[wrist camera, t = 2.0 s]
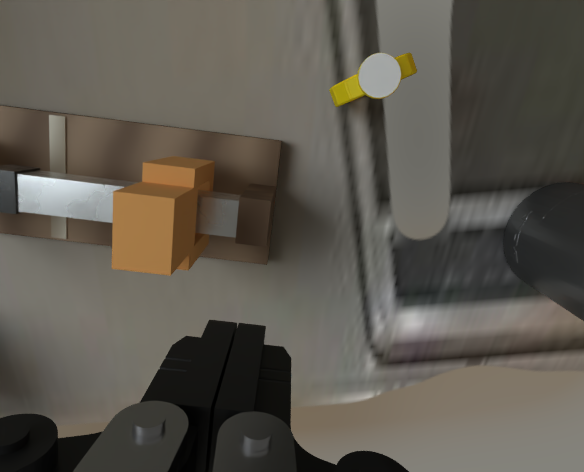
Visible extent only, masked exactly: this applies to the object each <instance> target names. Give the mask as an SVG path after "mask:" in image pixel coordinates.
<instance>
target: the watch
mask: <svg viewBox="0 0 584 472" xmlns="http://www.w3.org/2000/svg"><path fill="white" fill-rule="evenodd" d="M416 72H417V69H416V66H415V63H414V60H413V57H412V54H411V53H407V54H403V55H401V56H398V57H396V58H394V57H393V56H391V55H389V54H386V53H376V54H373V55H371V56H369V57H368V58H366V59H365V61H364V62H363V63H362V64H361V66H360V68H359V70H358V74H356V75H354V76H352V77H350V78H348V79H346V80H344V81H342V82H340V83H338V84H336V85H334V86H333V87H331V88H330V90H329V91H330V93H331V96H332V99H333V101H334V104H335V106H336V107H338V106H341V105H343V104H346V103H348V102H351V101H353V100H355V99H358V98H360V97H362V96H365V95H366V96H368V97H370V98H372V99H382V98H385V97H388V96H389V95H391V94H392V93H394V91H395V90H396V89H397V88H398V86H399V84H400V81H401V80H402V79H404V78H406V77H408V76H411V75H413V74H415V73H416Z"/></svg>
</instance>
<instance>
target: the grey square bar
mask: <svg viewBox="0 0 584 472" xmlns="http://www.w3.org/2000/svg"><path fill="white" fill-rule="evenodd" d="M136 183H138V182H130V181H122V180H114V179H106V178H98V177H89V176H81V175H73V174H65V173H57V172H49V171H40V168H37V167H29V166H20V165H12V164H9V165H0V212H2V213H10V214H18V213H22V212H26V213H35V214H43V215H51V216H60V217H68V218H76V219H85V220H93V221H101V222H110V223H113V191H115V190H118V189H121V188H124V187H127V186H130V185H133V184H136ZM240 196H241V195H236V194H228V193H220V192H212V191H204V190H198V199H197V214H196V228H195V233H201V234H210V235H218V236H226V237H235V238H236V228H237V217H238V206H239V197H240Z"/></svg>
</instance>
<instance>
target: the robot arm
mask: <svg viewBox="0 0 584 472" xmlns="http://www.w3.org/2000/svg"><path fill="white" fill-rule="evenodd" d="M503 245H504V254H505V257H506V260H507V263H508V265H509V266H510V268H511V270H512V271H513V272H514V273H515V274H516V275H517V276H518V277H519V278H520V279H521V280H523V281H524V282H526V283H527V284H529V285H530V286H532V287H533V288H535V289H536V290H538V291H539V292H541V293H542V294H544V295H545V296H547V297H548V298H550V299H551V300H553V301H554V302H556V303H557V304H559V305H560V306H562V307H563V308H565V309H566V310H568V311H569V312H571V313H572V314H574V315H575V316H577V317H578V318H580V319H581V320H583V321H584V184H577V183H570V182H567V183H556V184H553V185H549V186H546V187H543V188H541V189H539V190H537V191H535V192H533V193H532V194H531V195H530V196H528V197H527V198H526V199H524V200H523V201H522V202H521V203H520V205H519V206H518V207H517V208H516V209H515V210H514V212H513V214H512V215H511V217H510V219H509V221H508V224H507V226H506V229H505V233H504V240H503ZM265 329H266V326H261V325H252V324H244V323H239V324H238V328H237V323H234V322H225V321H217V320H209V321H208V324H207V326H206V328H205V330H204V332H203V335H202V337H201V338H200V337H191V336H185V337H184V338H182V339H181V340H179V341H178V342H176V343H175V344H173V345H172V347H171V348H170V350H169V352H168V354H167V356H166V358H165V359H164V361H163V363H162V364H161V366H160V370H158V371H157V373H156V375H155V377H154V379H153V380H152V382H151V384H150V386H149V387H148V389H147V391H146V393H145V394H144V396H143V398H142V400H141V402H140V403H137V404H134V405H131V406H129V407H127V408H125V409H123V410H122V411H120V412H119V413H118V414H116V415H115V417H114V418H113V419H112V420H111V421H110V423H109V424H108V425H107V427H106V428H105V429H104V431H103V432H99V433H95V434H89V435H82V436H74V437H66V438H58V430H57V426H56V424H55V423H54V422H53V421H52V420H51V419H49V418H47V417H45V416H42V415H38V414H17V415H11V416H7V417H3V418H0V472H409V471H408V470H406V469H405V468H404V467H403V466H402V465H400V464H399V463H397V462H396V461H395V460H393V459H391V458H389V457H387V456H385V455H383V454H379V453H376V452H371V451H356V452H352V453H349V454H347V455H345V456H344V457H342V458H341V459H340V460H339V462H338V463H337V465H335V464H332V463H329V462H327V461H324V460H322V459H319V458H317V457H315V456H313V455H311V454H310V453H308V452H307V451H305V450H304V449H303V448H302V447H301V446H300V445H299V444H298V443H297V442H296V440H295V439H294V437H293V434H292V432H291V426H290V418H291V416H290V415H291V414H290V413H291V357H290V356H289V354H288V353H287V351H286V350H285V348H284V347H280V346H272V345H264V338H265Z"/></svg>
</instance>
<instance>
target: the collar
mask: <svg viewBox="0 0 584 472" xmlns="http://www.w3.org/2000/svg"><path fill="white" fill-rule="evenodd" d="M214 167H215V161H210V160H202V159H194V158H186V157H178V156H171V157H166V158H161V159H157V160H152V161H147V162H143V172H142V182H139V183H136V184H133V185H130V186H127V187H124V188H121V189H118V190H115V191H113V227H112V269H119V270H127V271H136V272H144V273H153V274H161V275H170V276H171V274H172V273H173V272H174V271H175V270H176V269H181V270H189V269H190V268H191V266H192V265H193V264H194V262H195V261H196V260H197V258H198V257H199V256H200V254H201V253H202V252H203V251H204V249H205V248H206V247H207V245H208V244H209V234H201V233H195V228H196V214H197V199H198V190H204V191H212V192H213V180H214Z"/></svg>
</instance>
